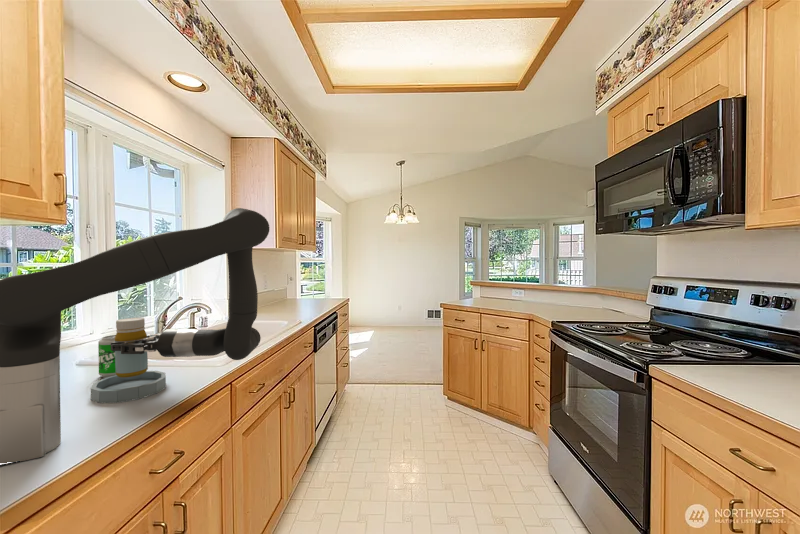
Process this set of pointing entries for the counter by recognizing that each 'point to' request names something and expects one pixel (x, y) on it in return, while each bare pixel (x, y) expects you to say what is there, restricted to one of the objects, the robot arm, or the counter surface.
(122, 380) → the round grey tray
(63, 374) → the counter surface
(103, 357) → the soda can
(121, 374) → the bottle
